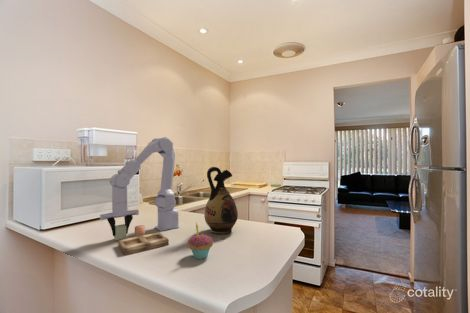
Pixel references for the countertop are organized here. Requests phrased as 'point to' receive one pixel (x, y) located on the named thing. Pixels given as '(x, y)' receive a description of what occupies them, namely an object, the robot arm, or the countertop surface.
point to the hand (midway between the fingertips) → (120, 234)
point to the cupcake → (200, 245)
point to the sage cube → (120, 232)
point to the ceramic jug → (220, 204)
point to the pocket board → (142, 243)
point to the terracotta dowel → (139, 230)
